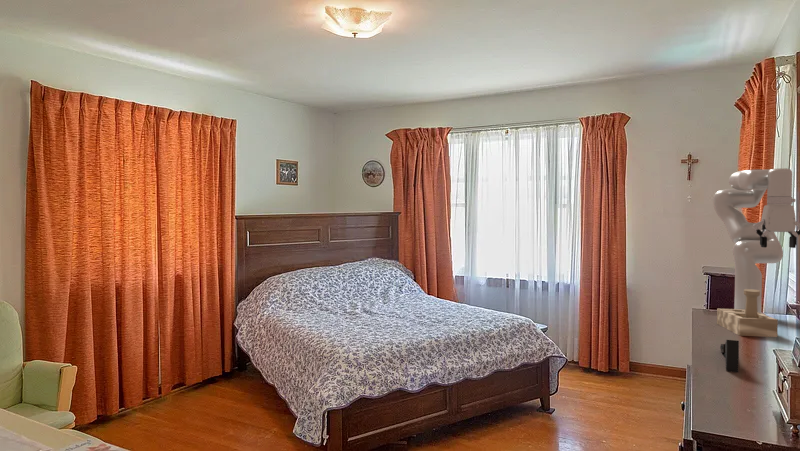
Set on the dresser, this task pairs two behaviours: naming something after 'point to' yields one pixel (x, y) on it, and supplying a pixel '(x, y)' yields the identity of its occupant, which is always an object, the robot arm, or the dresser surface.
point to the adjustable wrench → (731, 354)
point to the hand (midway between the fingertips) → (778, 247)
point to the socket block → (747, 323)
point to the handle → (751, 303)
